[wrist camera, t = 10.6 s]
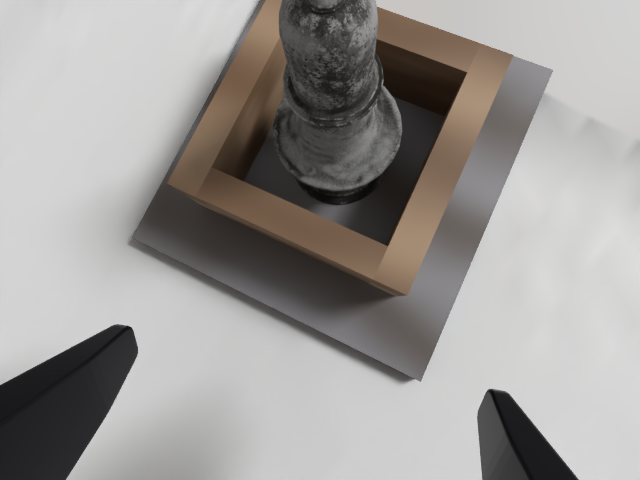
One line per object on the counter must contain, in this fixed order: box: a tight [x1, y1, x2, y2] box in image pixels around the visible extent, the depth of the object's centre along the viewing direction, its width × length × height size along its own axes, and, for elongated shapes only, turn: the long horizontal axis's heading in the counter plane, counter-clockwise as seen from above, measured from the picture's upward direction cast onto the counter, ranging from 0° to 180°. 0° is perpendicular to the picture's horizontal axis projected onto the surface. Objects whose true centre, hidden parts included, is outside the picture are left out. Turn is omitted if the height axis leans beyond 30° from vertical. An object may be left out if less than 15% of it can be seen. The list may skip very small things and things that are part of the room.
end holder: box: [132, 0, 553, 382], centre depth 19 cm, size 18×17×5 cm
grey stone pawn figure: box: [273, 0, 402, 205], centre depth 14 cm, size 6×6×12 cm
